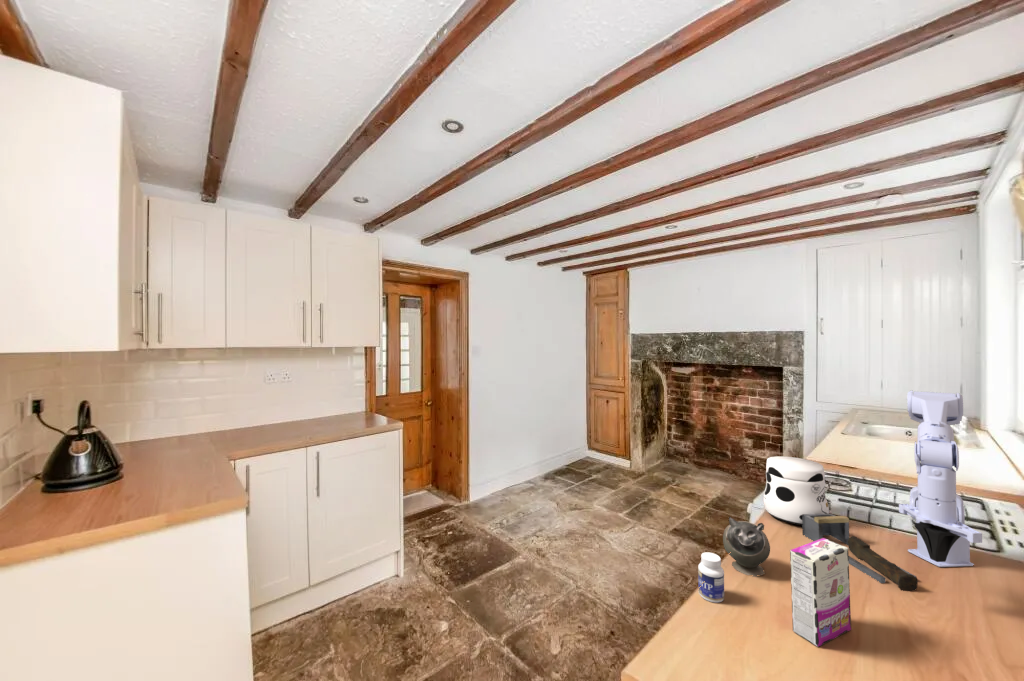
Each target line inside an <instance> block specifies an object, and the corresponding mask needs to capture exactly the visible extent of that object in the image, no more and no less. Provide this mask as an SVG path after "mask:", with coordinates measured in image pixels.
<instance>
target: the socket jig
mask: <svg viewBox="0 0 1024 681" xmlns="http://www.w3.org/2000/svg"><path fill="white" fill-rule="evenodd" d="M801 527H802V536H804V535H805V536H804V537H805V538H807V537H808V538H807V539H809V540H810V539H811V541H812V540H813V541H816V540H819V539H822V538H824V535H825V536H830V537H832V538H834V539H836V540H838V541H839V540H840V541H839V542H841V543H843V544H845V545H846V544H847V545H846V546H848V539H849V537H850V518H849V517H847V516H846V515H835V514H833V513H831V512H829V513H828V514H802V525H801ZM813 541H812V542H813ZM848 557H849V565H851V566H853V567H854V568H856V569H857V570H859V571H860V572H862V573H863V574H865V573H866V575H867V576H868V575H869V576H868V577H870V576H871V578H872V579H873V578H874V579H873V580H875V579H876V580H877V581H876V580H875V581H876V582H878V581H879V582H878V583H880V584H886V582H887V581H886V578H887V577H886V576H885V577H884V575H883V574H882V575H881V574H880V573H878V572H876V571H875V570H873V569H871V568H870V567H868V566H867V565H865V564H863V563H862V562H860V561H858V560H856V559H855V558H854V557H851V556H850V555H848ZM896 566H897V567H899V568H900V569H902V570H903V571H904V572H906V573H908V574H911V575H913V576H915V577H916V578H917V579H918V577H917V576H916V575H914V574H912V573H911V572H909V571H907V570H906V569H904V568H901V567H900V566H898V565H896Z"/></svg>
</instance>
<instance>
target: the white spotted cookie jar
mask: <svg viewBox="0 0 1024 681" xmlns="http://www.w3.org/2000/svg"><path fill="white" fill-rule="evenodd" d="M765 466H766V467H765V469H766V471H765V478H766V481H765V482H766V483H765V489H764V492H763V496H762V497H763V500H762V501H763V506H764V508H765V511H766V512H767V513H768V514H769V515H770V516H772V517H774V518H775V519H777V520H779V521H782V522H786V523H789V524H792V525H798V526H802V514H828V513H830V507H829V503H828V501H827V497H826V480H825V478H826V474H825V468H824V466H823V464H822V463H819V462H816V461H813V460H810V459H806V458H800V457H796V456H795V457H794V456H793V457H792V456H783V455H781V456H778V455H776V456H769V457H768V458H767V459H766V464H765Z"/></svg>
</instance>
